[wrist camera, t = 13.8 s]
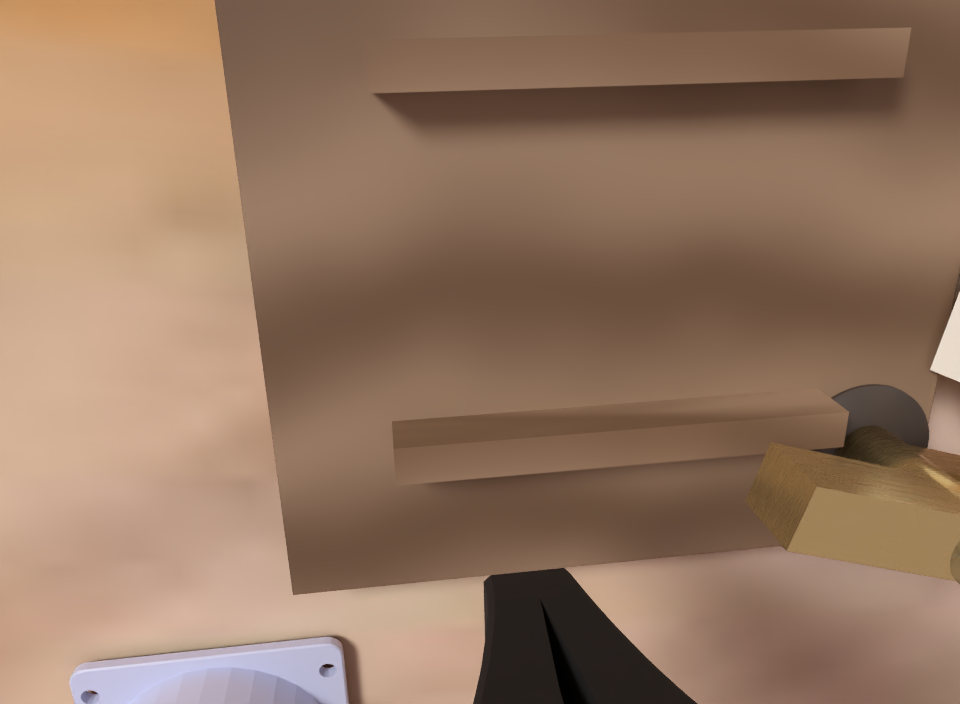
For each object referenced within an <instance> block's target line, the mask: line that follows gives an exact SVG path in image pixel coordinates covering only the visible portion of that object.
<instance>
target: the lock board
mask: <svg viewBox="0 0 960 704" xmlns="http://www.w3.org/2000/svg"><path fill="white" fill-rule="evenodd" d="M215 7H216V14H217V22H218V29H219V37H220V45H221V52H222V60H223V67H224V75H225V82H226V90H227V98H228V105H229V113H230V120H231V128H232V136H233V143H234V151H235V158H236V166H237V173H238V181H239V189H240V196H241V204H242V211H243V219H244V227H245V234H246V242H247V249H248V257H249V264H250V272H251V280H252V287H253V295H254V302H255V310H256V318H257V325H258V333H259V340H260V348H261V355H262V363H263V371H264V378H265V386H266V393H267V401H268V409H269V416H270V424H271V431H272V439H273V446H274V454H275V462H276V469H277V477H278V484H279V492H280V500H281V507H282V515H283V522H284V530H285V537H286V545H287V553H288V560H289V568H290V575H291V583H292V591H293V595H297V594H307V593H316V592H326V591H336V590H346V589H356V588H366V587H376V586H386V585H396V584H406V583H416V582H426V581H435V580H445V579H455V578H465V577H475V576H485V575H495V574H505V573H515V572H525V571H535V570H544V569H554V568H564V567H574V566H584V565H594V564H604V563H614V562H624V561H634V560H644V559H654V558H663V557H673V556H683V555H693V554H703V553H713V552H723V551H733V550H743V549H753V548H763V547H772V546H782V545H781V544H780V542H779V541H778V540H777V539H776V538H775V537H774V535H773V534H772V533H771V532H770V531H769V529H768V528H767V527H766V526H765V525H764V523H763V522H762V521H761V520H760V519H759V517H758V516H757V515H756V514H755V513H754V511H753V510H752V509H751V508H750V507H749V505H748V504H747V503H746V502H745V500H746V498H747V496H748V494H749V491H750V489H751V487H752V484H753V482H754V480H755V478H756V475H757V473H758V471H759V468H760V466H761V464H762V462H763V459H764V457H765V455H766V452H767V450H768V448H769V446H770V443H771V442H773V443H777V444H782V445H787V446H792V447H796V448H801V449H806V450H811V451H815V452H820V453H825V454H830V455H834V456H835V453H836V450H837V448H838V447H844V441H845V437H846V436H847V435H848V434H850V433H851V432H852V431H854V430H856V429H858V428H861V427H864V426H869V425H876V426H880V427H883V428H885V429H887V430H888V431H889V432H891V433H892V434H894V435H895V436H896V437H898V438H899V439H900V440H902V441H903V442H905V443H906V444H910V445H914V446H919V447H923V448H927V447H928V440H929V428H928V423H929V418H930V413H931V408H932V403H933V398H934V393H935V388H936V383H937V378H938V373H936V372H934V371H932V370H930V368H931V366H932V363H933V360H934V358H935V355H936V353H937V350H938V347H939V345H940V342H941V339H942V337H943V334H944V331H945V329H946V326H947V324H948V321H949V318H950V314H951V309H952V305H953V300H954V295H955V290H956V285H957V280H958V275H959V270H960V0H215Z"/></svg>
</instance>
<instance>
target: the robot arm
mask: <svg viewBox="0 0 960 704" xmlns="http://www.w3.org/2000/svg"><path fill="white" fill-rule="evenodd" d="M484 612H485V646H484V653H483V660H482V666H481V672H480V677H479V681H478V685H477V690H476V694H475V698H474V703H473V704H697V703H696V702H695V701H694V700H692V699H691V698H690V697H689V696H688V695H687V694H685V693H684V692H683V691H682V690H681V689H680V688H679V687H677V686H676V685H675V684H674V683H673V682H672V681H671V680H670V679H669V678H668V677H666V676H665V675H664V674H663V673H662V672H661V671H660V670H659V669H658V668H657V667H656V666H655V665H654V664H652V663H651V662H650V661H649V660H648V659H647V658H646V657H645V656H644V655H643V654H642V653H641V652H640V651H639V650H638V649H637V648H636V647H635V646H634V645H633V644H632V643H631V642H630V640H629V639H628V638H627V637H626V636H625V635H624V634H623V633H622V632H621V631H620V630H619V629H618V628H617V627H616V626H615V625H614V624H613V623H612V622H611V621H610V619H609V618H608V617H607V616H606V615H605V614H604V613H603V612H602V611H601V609H600V608H599V607H598V606H597V605H596V604H595V603H594V601H593V600H592V599H591V598H590V597H589V596H588V594H587V593H586V592H585V591H584V590H583V589H582V587H581V586H580V585H579V584H578V583H577V581H576V580H575V579H574V578H573V576H572V575H571V574H570V573H569V572H568V571H567V570H566V569H564V568H558V569H548V570H538V571H528V572H518V573H509V574H499V575H490V576H489V577H488V578H487V579H486V580H485V581H484ZM325 664H332V665H334V667H331V668H324V667H323V666H322V665H325ZM70 688H71V692H72V696H73V699H74V703H75V704H349V698H348V689H347V680H346V670H345V661H344V652H343V646H342V644H341V642H340V641H339V640H337V639H335V638H333V637H319V638H309V639H300V640H291V641H281V642H272V643H263V644H253V645H244V646H235V647H226V648H216V649H207V650H198V651H188V652H179V653H170V654H160V655H151V656H142V657H132V658H123V659H114V660H104V661H95V662H87V663H83V664H80V665H79V666H77V667H76V668H75V670H74V672H73V674H72V676H71V678H70ZM87 690H91V691H95V692H97V693H98V694H91V693H89V692H87Z"/></svg>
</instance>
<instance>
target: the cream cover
mask: <svg viewBox="0 0 960 704" xmlns="http://www.w3.org/2000/svg"><path fill="white" fill-rule="evenodd" d="M930 370H932V371H934V372H936V373H939V374H941V375H944V376H946V377H949V378H951V379H953V380H956V381H958V382H960V292H959V295H958V297H957V300H956V302H955V305H954V308H953V310H952V313H951V316H950V318H949V321H948V324H947V326H946V329H945V331H944V334H943V337H942V339H941V342H940V345H939V347H938V350H937V353H936V355H935V358H934V360H933V363H932V366H931V368H930Z"/></svg>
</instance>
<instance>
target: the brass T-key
mask: <svg viewBox="0 0 960 704" xmlns="http://www.w3.org/2000/svg"><path fill="white" fill-rule="evenodd" d="M745 502H746V503H747V504H748V505H749V507H750V508H751V509H752V510H753V511H754V513H755V514H756V515H757V516H758V517H759V519H760V520H761V521H762V522H763V523H764V525H765V526H766V527H767V528H768V529H769V531H770V532H771V533H772V534H773V535H774V537H775V538H776V539H777V540H778V541H779V542H780V544H781V545H782V546H783V547H784V548H785V550H786V551H789V552H795V553H801V554H806V555H812V556H818V557H823V558H829V559H834V560H840V561H846V562H851V563H857V564H863V565H868V566H874V567H880V568H885V569H891V570H897V571H902V572H908V573H914V574H919V575H925V576H930V577H936V578H942V579H947V580H953V581H957V582H958V583H959V584H960V455H955V454H951V453H946V452H942V451H937V450H933V449H928V448H923V447H919V446H914V445H910V444H906V443H905V442H903V441H902V440H900V439H899V438H898V437H896V436H895V435H894V434H892V433H891V432H889V431H888V430H887V429H885V428H883V427H880V426H876V425H869V426H864V427H861V428H858V429H856V430H854V431H852V432H851V433H850V434H848V435H847V436H846V437H845V441H844V447H838V448H837V450H836V453H835V456H834V455H830V454H825V453H820V452H815V451H811V450H806V449H801V448H796V447H792V446H787V445H782V444H777V443H773V442H771V443H770V446H769V448H768V450H767V452H766V455H765V457H764V459H763V462H762V464H761V466H760V468H759V471H758V473H757V475H756V478H755V480H754V482H753V484H752V487H751V489H750V491H749V494H748V496H747V498H746V500H745Z"/></svg>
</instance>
